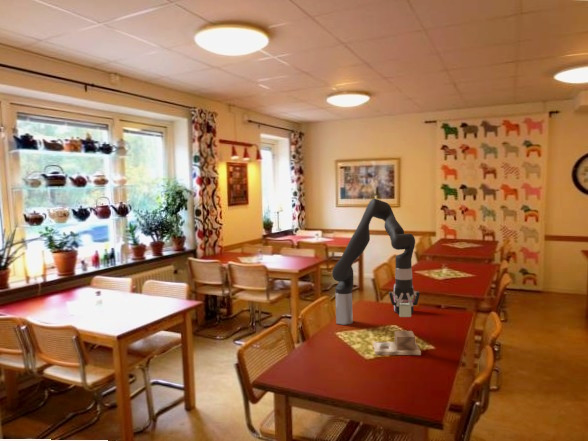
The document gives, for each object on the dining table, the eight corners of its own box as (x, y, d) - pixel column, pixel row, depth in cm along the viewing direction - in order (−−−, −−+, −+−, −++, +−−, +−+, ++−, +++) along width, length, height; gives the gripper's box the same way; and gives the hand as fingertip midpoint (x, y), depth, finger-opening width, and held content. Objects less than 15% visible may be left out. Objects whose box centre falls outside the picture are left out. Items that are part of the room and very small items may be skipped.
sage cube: (399, 316, 188) (399, 306, 187) (398, 313, 193) (398, 303, 192) (411, 316, 187) (410, 306, 187) (409, 313, 192) (409, 303, 192)
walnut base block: (397, 349, 187) (397, 336, 187) (394, 343, 195) (394, 330, 195) (415, 349, 186) (415, 336, 186) (412, 343, 194) (412, 330, 194)
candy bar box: (395, 312, 248) (394, 285, 246) (393, 310, 253) (393, 284, 251) (414, 312, 246) (413, 285, 245) (412, 310, 251) (412, 283, 250)
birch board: (375, 354, 186) (375, 351, 186) (373, 344, 198) (373, 341, 198) (420, 355, 184) (420, 351, 184) (415, 344, 196) (415, 341, 196)
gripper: (418, 275, 192) (418, 311, 193) (386, 276, 193) (387, 311, 194) (421, 278, 184) (422, 316, 185) (388, 279, 186) (389, 316, 187)
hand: (404, 313), depth 190 cm, fingers closed on sage cube, 5 cm apart
